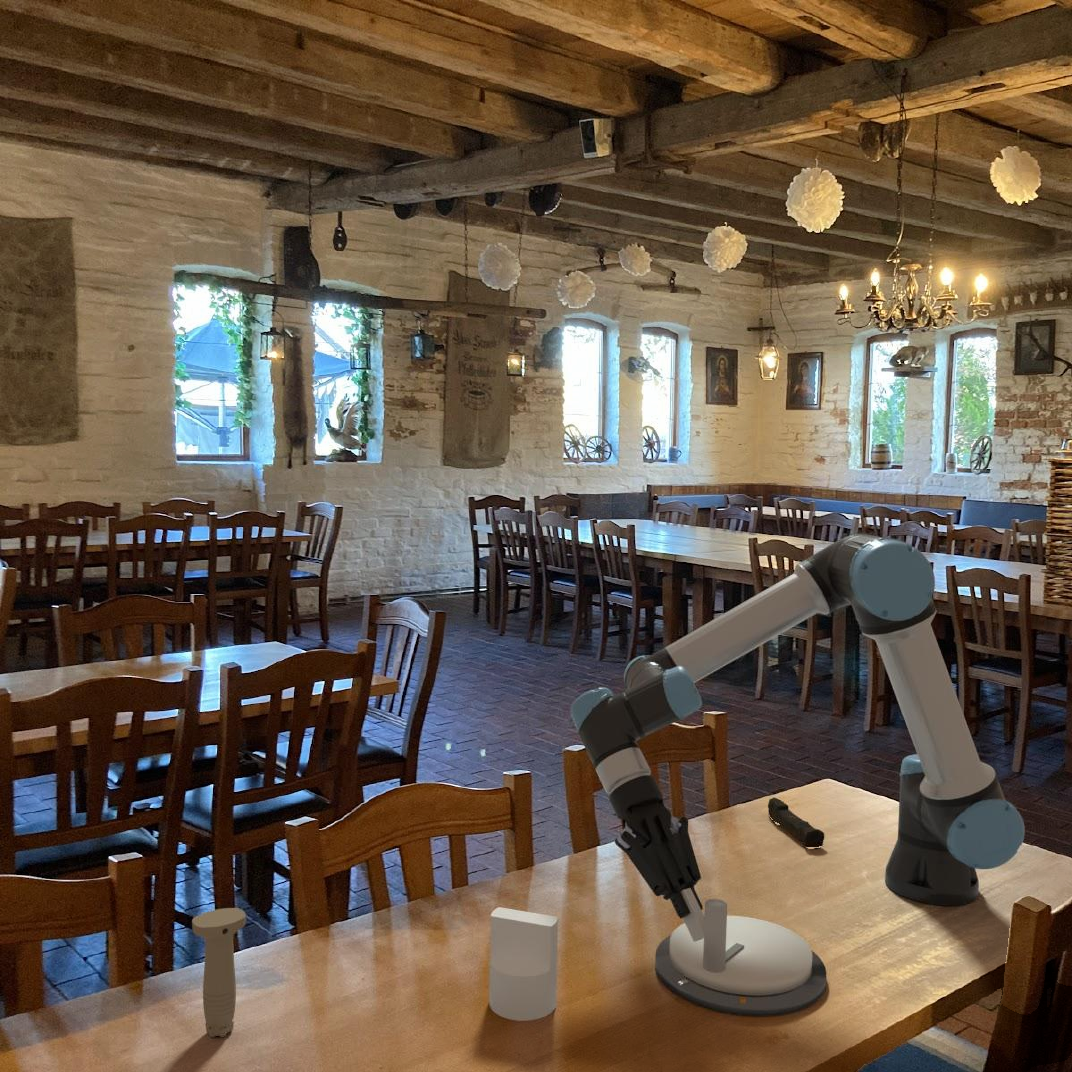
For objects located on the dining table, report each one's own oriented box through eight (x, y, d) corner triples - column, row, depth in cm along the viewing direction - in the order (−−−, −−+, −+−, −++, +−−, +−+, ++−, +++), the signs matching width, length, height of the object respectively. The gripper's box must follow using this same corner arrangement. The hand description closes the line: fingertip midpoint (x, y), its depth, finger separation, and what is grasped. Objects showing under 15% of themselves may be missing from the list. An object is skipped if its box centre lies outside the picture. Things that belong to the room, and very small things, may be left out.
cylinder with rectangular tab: (564, 993, 146) (566, 908, 145) (543, 1026, 137) (545, 936, 136) (503, 981, 148) (504, 898, 147) (479, 1013, 140) (480, 925, 139)
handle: (188, 1030, 134) (187, 916, 133) (238, 1016, 138) (238, 904, 137) (199, 1049, 130) (199, 931, 129) (251, 1033, 134) (250, 918, 133)
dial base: (787, 930, 166) (788, 918, 166) (855, 1010, 142) (855, 998, 142) (637, 937, 162) (638, 926, 162) (681, 1021, 139) (681, 1008, 139)
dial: (710, 916, 166) (712, 848, 165) (833, 955, 154) (836, 881, 153) (643, 964, 150) (645, 889, 149) (775, 1011, 138) (778, 930, 137)
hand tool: (825, 850, 200) (826, 826, 200) (805, 851, 199) (806, 827, 199) (781, 816, 219) (782, 794, 218) (763, 817, 218) (764, 795, 217)
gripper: (649, 790, 166) (721, 935, 154) (584, 804, 158) (654, 959, 146) (675, 766, 161) (750, 915, 149) (608, 780, 153) (682, 938, 142)
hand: (702, 936), depth 148 cm, fingers closed
